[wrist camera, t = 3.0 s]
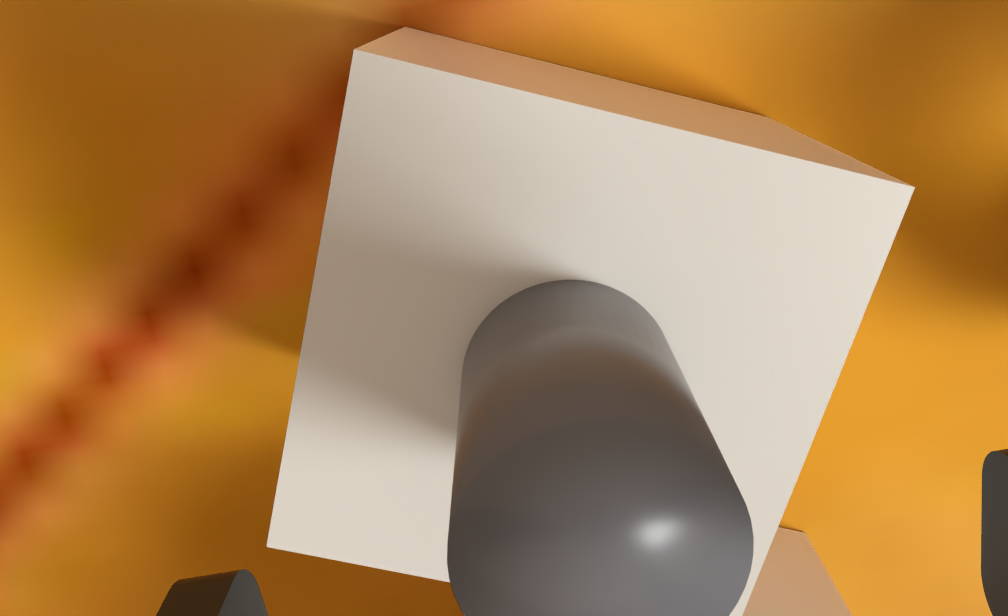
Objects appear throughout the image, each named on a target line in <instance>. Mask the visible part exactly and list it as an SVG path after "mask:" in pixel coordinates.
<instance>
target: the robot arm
mask: <svg viewBox="0 0 1008 616" xmlns="http://www.w3.org/2000/svg"><path fill="white" fill-rule="evenodd" d="M981 576H982V583H983V588H984V592H985V596H986V599H987V602H988V605H989V608H990V610H991V612H992V615H993V616H1008V449H1004V450H998V451H992V452H990V453H989V454H988V455H987V456H986V458H985V460H984V464H983V469H982V534H981ZM156 616H268V613H267V610H266V607H265V604H264V601H263V598H262V596H261V593H260V590H259V587H258V584H257V582H256V580H255V578H254V576H253V575H252V574H251V573H250V572H249V571H248V570H245V569H244V570H237V571H231V572H225V573H219V574H212V575H206V576H200V577H194V578H187V579H181V580H178V581H176V582H175V583H174V584H173V586H172V587H171V589H170V590H169V592H168V594H167V596H166V598H165V600H164V602H163V603H162V605H161V607H160V609H159V611H158V613H157V615H156Z"/></svg>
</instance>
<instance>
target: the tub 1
mask: <svg viewBox="0 0 1008 616" xmlns="http://www.w3.org/2000/svg"><path fill="white" fill-rule="evenodd" d="M914 189H915V187H914V186H912V185H910V184H907V183H905V182H903V181H901V180H899V179H897V178H895V177H893V176H891V175H889V174H886V173H884V172H882V171H880V170H878V169H876V168H874V167H872V166H870V165H868V164H865V163H863V162H861V161H859V160H857V159H855V158H853V157H851V156H849V155H847V154H844V153H842V152H840V151H838V150H836V149H834V148H832V147H830V146H828V145H826V144H823V143H821V142H819V141H817V140H815V139H813V138H811V137H809V136H807V135H805V134H802V133H800V132H798V131H796V130H794V129H792V128H790V127H788V126H786V125H784V124H781V123H779V122H777V121H775V120H773V119H771V118H769V117H765V116H761V115H757V114H753V113H749V112H745V111H741V110H737V109H733V108H729V107H725V106H721V105H717V104H713V103H709V102H705V101H701V100H697V99H693V98H689V97H685V96H681V95H677V94H673V93H669V92H665V91H661V90H657V89H653V88H649V87H645V86H641V85H637V84H633V83H629V82H625V81H621V80H617V79H613V78H609V77H605V76H601V75H597V74H593V73H589V72H585V71H581V70H577V69H573V68H569V67H565V66H561V65H557V64H553V63H549V62H545V61H541V60H537V59H533V58H529V57H525V56H521V55H517V54H513V53H509V52H505V51H501V50H497V49H493V48H489V47H485V46H481V45H477V44H473V43H469V42H465V41H461V40H457V39H453V38H449V37H445V36H441V35H437V34H433V33H429V32H425V31H421V30H417V29H413V28H409V27H403V28H401V29H399V30H396V31H394V32H392V33H390V34H387V35H385V36H383V37H380V38H378V39H376V40H374V41H371V42H369V43H367V44H365V45H362V46H360V47H358V48H355V49H354V52H353V57H352V63H351V69H350V74H349V80H348V86H347V91H346V97H345V103H344V108H343V114H342V120H341V125H340V131H339V137H338V142H337V148H336V154H335V160H334V165H333V171H332V177H331V182H330V188H329V194H328V199H327V205H326V211H325V216H324V222H323V228H322V233H321V239H320V245H319V250H318V256H317V262H316V267H315V273H314V279H313V285H312V290H311V296H310V302H309V307H308V313H307V319H306V324H305V330H304V336H303V341H302V347H301V353H300V358H299V364H298V370H297V375H296V381H295V387H294V392H293V398H292V404H291V409H290V415H289V421H288V427H287V432H286V438H285V444H284V449H283V455H282V461H281V466H280V472H279V478H278V483H277V489H276V495H275V500H274V506H273V512H272V517H271V523H270V529H269V534H268V540H267V546H266V547H270V548H275V549H280V550H285V551H290V552H295V553H301V554H306V555H311V556H316V557H321V558H326V559H332V560H337V561H342V562H347V563H352V564H357V565H363V566H368V567H373V568H378V569H383V570H388V571H394V572H399V573H404V574H409V575H414V576H419V577H425V578H430V579H435V580H440V581H445V582H450V583H451V587H452V590H453V593H454V596H455V598H456V600H457V602H458V605H459V607H460V609H461V611H462V612H463V614H464V615H465V616H742V615H743V612H744V610H745V607H746V605H747V602H748V600H749V598H750V595H751V593H752V590H753V588H754V585H755V583H756V580H757V578H758V575H759V573H760V570H761V568H762V565H763V563H764V560H765V558H766V555H767V553H768V550H769V548H770V546H771V543H772V541H773V538H774V536H775V533H776V531H777V528H778V526H779V523H780V521H781V518H782V516H783V513H784V511H785V508H786V506H787V503H788V501H789V498H790V496H791V494H792V491H793V489H794V486H795V484H796V481H797V479H798V476H799V474H800V471H801V469H802V466H803V464H804V461H805V459H806V456H807V454H808V451H809V449H810V446H811V444H812V441H813V439H814V437H815V434H816V432H817V429H818V427H819V424H820V422H821V419H822V417H823V414H824V412H825V409H826V407H827V404H828V402H829V399H830V397H831V394H832V392H833V389H834V387H835V385H836V382H837V380H838V377H839V375H840V372H841V370H842V367H843V365H844V362H845V360H846V357H847V355H848V352H849V350H850V347H851V345H852V342H853V340H854V337H855V335H856V333H857V330H858V328H859V325H860V323H861V320H862V318H863V315H864V313H865V310H866V308H867V305H868V303H869V300H870V298H871V295H872V293H873V290H874V288H875V285H876V283H877V280H878V278H879V276H880V273H881V271H882V268H883V266H884V263H885V261H886V258H887V256H888V253H889V251H890V248H891V246H892V243H893V241H894V238H895V236H896V233H897V231H898V228H899V226H900V224H901V221H902V219H903V216H904V214H905V211H906V209H907V206H908V204H909V201H910V199H911V196H912V194H913V191H914Z"/></svg>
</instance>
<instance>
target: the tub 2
mask: <svg viewBox="0 0 1008 616" xmlns="http://www.w3.org/2000/svg"><path fill="white" fill-rule="evenodd" d="M463 616H465V615H464V614H463ZM742 616H852V614H851V612H850V610H849V609H848V607H847V605H846V603H845V602H844V600H843V598H842V596H841V595H840V593H839V591H838V589H837V588H836V586H835V584H834V582H833V581H832V579H831V577H830V575H829V574H828V572H827V570H826V568H825V567H824V565H823V563H822V561H821V559H820V558H819V556H818V554H817V552H816V551H815V549H814V547H813V545H812V544H811V542H810V540H809V538H808V537H807V535H806V533H805V532H800V531H795V530H790V529H785V528H781V527H778V528H777V531H776V533H775V536H774V538H773V541H772V543H771V546H770V548H769V550H768V553H767V555H766V558H765V560H764V563H763V565H762V568H761V570H760V573H759V575H758V578H757V580H756V583H755V585H754V588H753V590H752V593H751V595H750V598H749V600H748V602H747V605H746V607H745V610H744V612H743V615H742Z"/></svg>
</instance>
